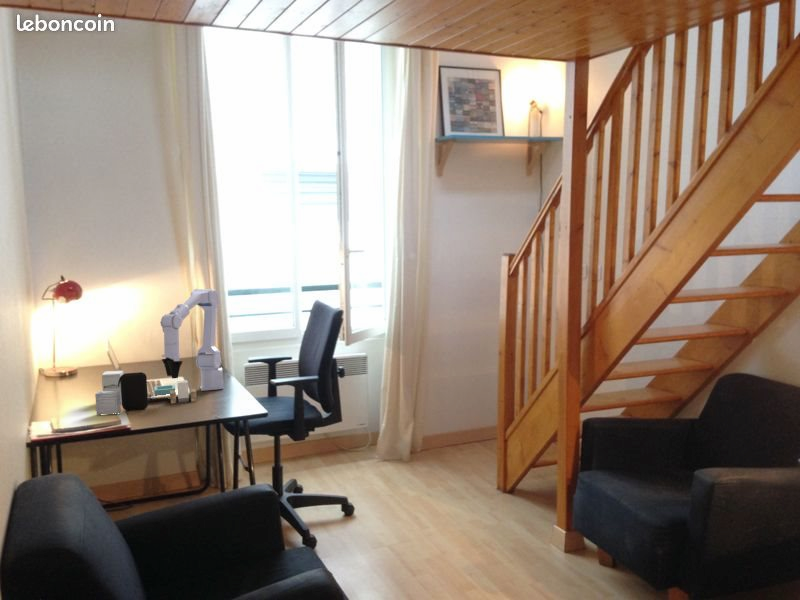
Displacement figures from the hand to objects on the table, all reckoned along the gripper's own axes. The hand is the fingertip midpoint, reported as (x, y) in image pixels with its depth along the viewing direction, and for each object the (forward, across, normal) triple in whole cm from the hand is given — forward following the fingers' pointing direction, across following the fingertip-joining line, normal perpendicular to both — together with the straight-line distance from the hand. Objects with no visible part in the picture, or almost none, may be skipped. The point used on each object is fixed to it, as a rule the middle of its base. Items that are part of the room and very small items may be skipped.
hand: (172, 377), depth 297 cm
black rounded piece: (+11, +3, -16) cm, 20 cm away
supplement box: (+11, -15, -20) cm, 27 cm away
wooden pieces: (+10, 0, +4) cm, 11 cm away
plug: (+10, 0, +4) cm, 11 cm away
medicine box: (+12, +4, -25) cm, 28 cm away
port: (+10, -15, 0) cm, 18 cm away
